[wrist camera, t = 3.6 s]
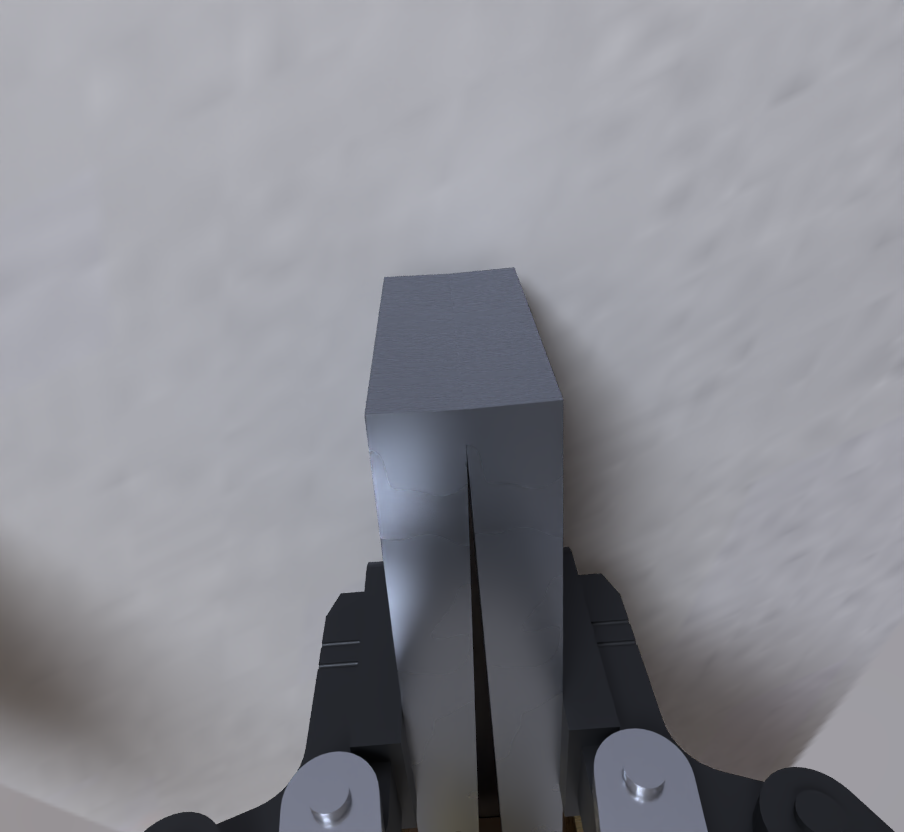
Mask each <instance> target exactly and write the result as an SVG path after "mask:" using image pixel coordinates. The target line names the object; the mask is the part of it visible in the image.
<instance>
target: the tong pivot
mask: <svg viewBox="0 0 904 832" xmlns="http://www.w3.org/2000/svg"><path fill="white" fill-rule="evenodd" d="M409 832H418V827H417V828H410V829H409ZM479 832H502V831H501V821H500V817H493V818H480V819H479ZM562 832H567V831H566V825H565V820H564V814H563V812H562Z"/></svg>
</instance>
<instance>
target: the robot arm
mask: <svg viewBox="0 0 904 832" xmlns="http://www.w3.org/2000/svg"><path fill="white" fill-rule="evenodd" d="M559 788H560V794H561V799H562V805H563V811H564V816H565V817H568V816H580V817H581V822H582V827H583V832H894V831H893V830H892V829H891V828H890V827H889V826H888V825H886V823H885V822H883V821H882V820H881V819H880V818H879V817H878V816H877V815H876V814H875V813H873V812H872V811H871V810H870V809H869V808H868V807H867V806H866V805H865V804H864V803H863V802H861V801H860V800H859V799H858V798H857V797H856V796H855V795H854V794H853V793H851V792H850V791H849V790H848V789H847V788H846V787H844V786H843V785H842V784H840V783H839V782H837V781H836V780H834V779H833V778H831V777H829V776H827V775H825V774H823V773H820V772H818V771H815V770H812V769H807V768H800V767H790V768H784V769H781V770H778V771H776V772H774V773H773V774H771V775H770V776H769V777H768V778H767V779H766V781H765V782H762V781H758V780H754V779H750V778H746V777H742V776H738V775H734V774H730V773H726V772H722V771H719V770H715V769H712V768H710V767H708V766H706V765H703V764H701V763H700V762H698V761H696V760H695V759H693V758H692V757H691V756H689V755H688V754H687V753H685V752H684V751H683V750H682V749H681V748H680V747H679V746H678V745H677V744H676V742H675V741H674V740H673V739H672V737H671V736H670V734H669V732H668V731H667V729H666V727H665V724H664V722H663V719H662V716H661V713H660V711H659V708H658V705H657V702H656V699H655V696H654V693H653V690H652V687H651V684H650V681H649V678H648V675H647V672H646V670H645V667H644V664H643V661H642V658H641V655H640V652H639V649H638V646H637V645H636V643H635V637H634V634H633V631H632V629H631V626H630V624H629V622H628V617H627V614H626V611H625V608H624V605H623V602H622V599H621V596H620V594H619V593H618V592H617V591H616V589H615V588H614V587H613V586H612V585H611V584H610V583H609V582H608V581H607V579H606V578H605V577H604V576H603V575H602V574H588V575H578V573H577V570H576V566H575V563H574V559H573V555H572V552H571V550H570V548H569V547H563V702H562V728H561V754H560V780H559ZM409 828H417V796H416V791H415V785H414V779H413V773H412V768H411V762H410V756H409V751H408V745H407V739H406V733H405V726H404V718H403V710H402V702H401V694H400V687H399V679H398V671H397V663H396V656H395V648H394V640H393V632H392V625H391V617H390V609H389V601H388V593H387V586H386V578H385V570H384V562H383V561H380V562H369V563H368V565H367V571H366V581H365V592H354V593H341V594H340V596H339V597H338V599H337V600H336V602H335V604H334V605H333V607H332V608H331V610H330V611H329V613H328V615H327V616H326V621H325V627H324V633H323V640H322V648H321V653H320V659H319V669H318V672H317V679H316V685H315V692H314V698H313V705H312V711H311V718H310V724H309V731H308V737H307V743H306V749H305V754H304V758H303V760H302V763H301V765H300V767H299V769H298V771H297V772H296V773H295V775H294V776H293V777H292V779H291V780H290V782H289V783H288V785H287V786H286V787H285V788H284V789H283V790H282V791H281V792H280V793H279V794H277V795H276V796H275V797H274V798H272V799H271V800H269V801H268V802H266V803H264V804H262V805H260V806H258V807H256V808H254V809H252V810H249V811H247V812H245V813H242V814H240V815H238V816H235V817H233V818H231V819H228V820H226V821H223V822H221V823H219V824H215V823H214V822H213V821H212V820H211V819H210V818H208V817H207V816H205V815H202V814H200V813H195V812H182V813H178V814H173V815H171V816H168V817H165V818H163V819H162V820H160V821H158V822H156V823H155V824H153V825H152V826H150V827H149V828H148V829H147V830H145V831H144V832H401V831H402V829H409Z"/></svg>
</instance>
